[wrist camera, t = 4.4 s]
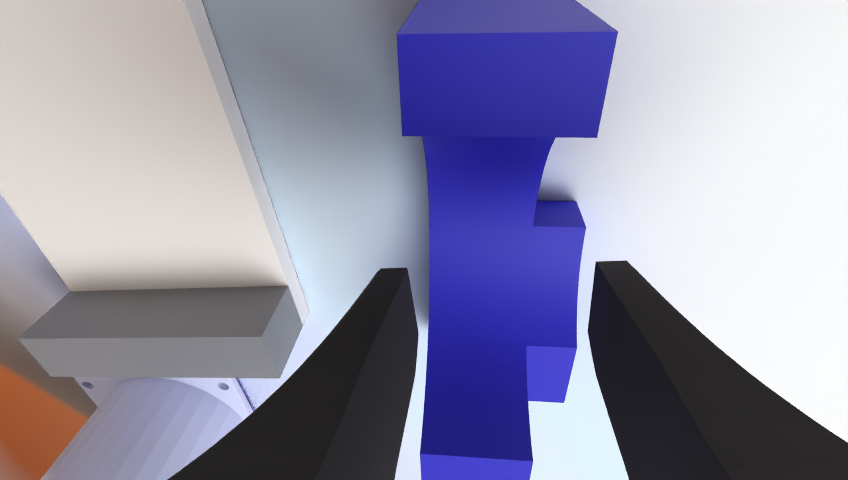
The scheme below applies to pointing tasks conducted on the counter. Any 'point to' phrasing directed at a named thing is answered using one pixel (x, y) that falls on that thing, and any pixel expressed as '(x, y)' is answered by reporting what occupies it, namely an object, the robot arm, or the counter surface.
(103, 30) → the clip dock
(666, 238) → the counter surface
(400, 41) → the cable clip
